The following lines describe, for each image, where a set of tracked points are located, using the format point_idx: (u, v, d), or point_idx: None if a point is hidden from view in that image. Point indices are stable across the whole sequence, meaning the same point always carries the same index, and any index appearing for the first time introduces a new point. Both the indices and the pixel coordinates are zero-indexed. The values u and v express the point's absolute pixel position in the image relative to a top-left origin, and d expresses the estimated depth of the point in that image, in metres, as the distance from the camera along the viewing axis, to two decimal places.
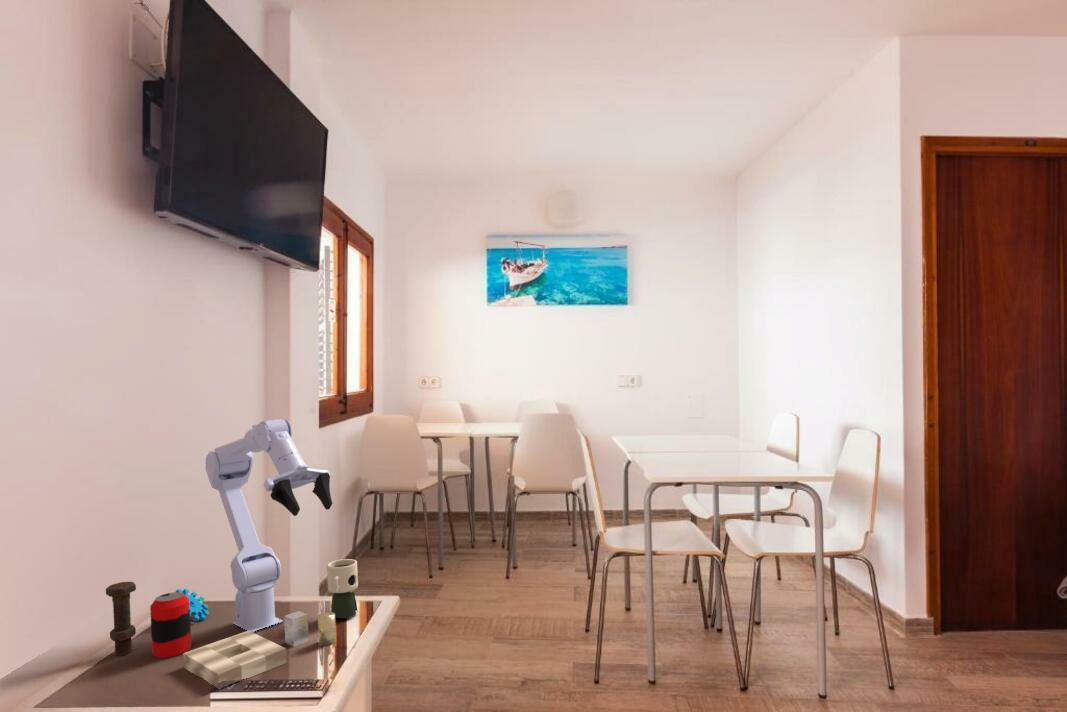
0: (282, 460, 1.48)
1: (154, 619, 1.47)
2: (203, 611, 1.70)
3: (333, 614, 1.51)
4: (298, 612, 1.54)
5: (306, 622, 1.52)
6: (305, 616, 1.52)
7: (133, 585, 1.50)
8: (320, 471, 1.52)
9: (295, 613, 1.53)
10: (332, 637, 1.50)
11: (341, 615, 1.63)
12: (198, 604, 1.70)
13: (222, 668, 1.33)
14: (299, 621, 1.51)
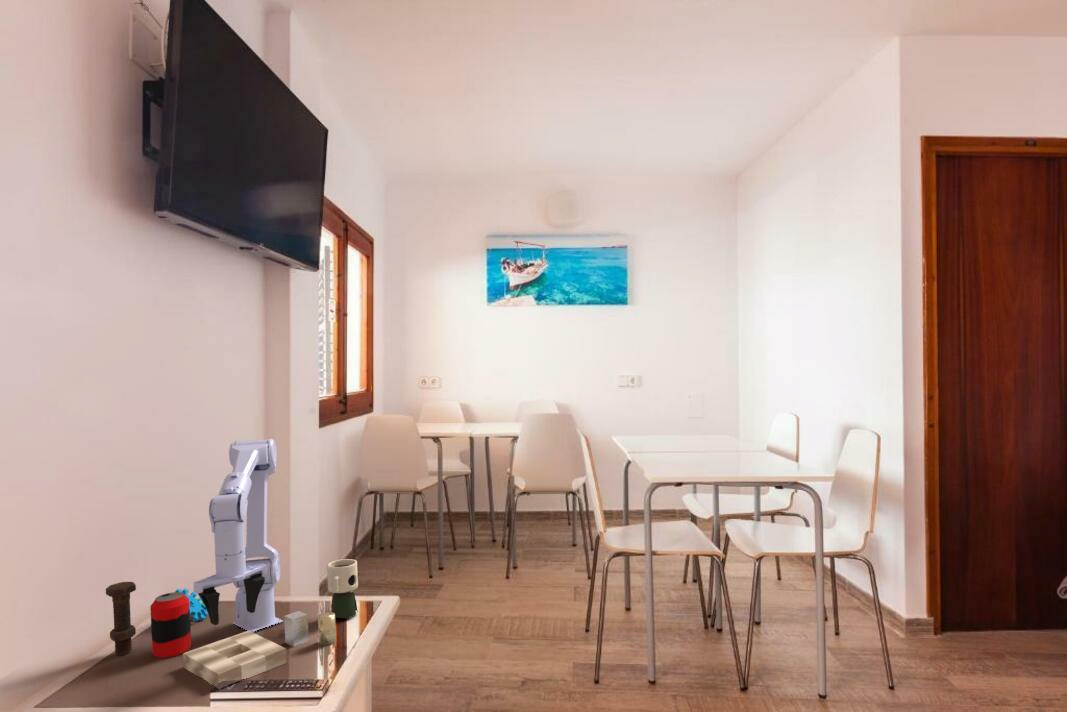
0: (222, 559, 1.39)
1: (154, 619, 1.47)
2: (203, 611, 1.70)
3: (333, 614, 1.51)
4: (298, 612, 1.54)
5: (306, 622, 1.52)
6: (305, 616, 1.52)
7: (133, 585, 1.50)
8: (258, 570, 1.44)
9: (295, 613, 1.53)
10: (332, 637, 1.50)
11: (341, 615, 1.63)
12: (198, 604, 1.70)
13: (222, 668, 1.33)
14: (299, 621, 1.51)
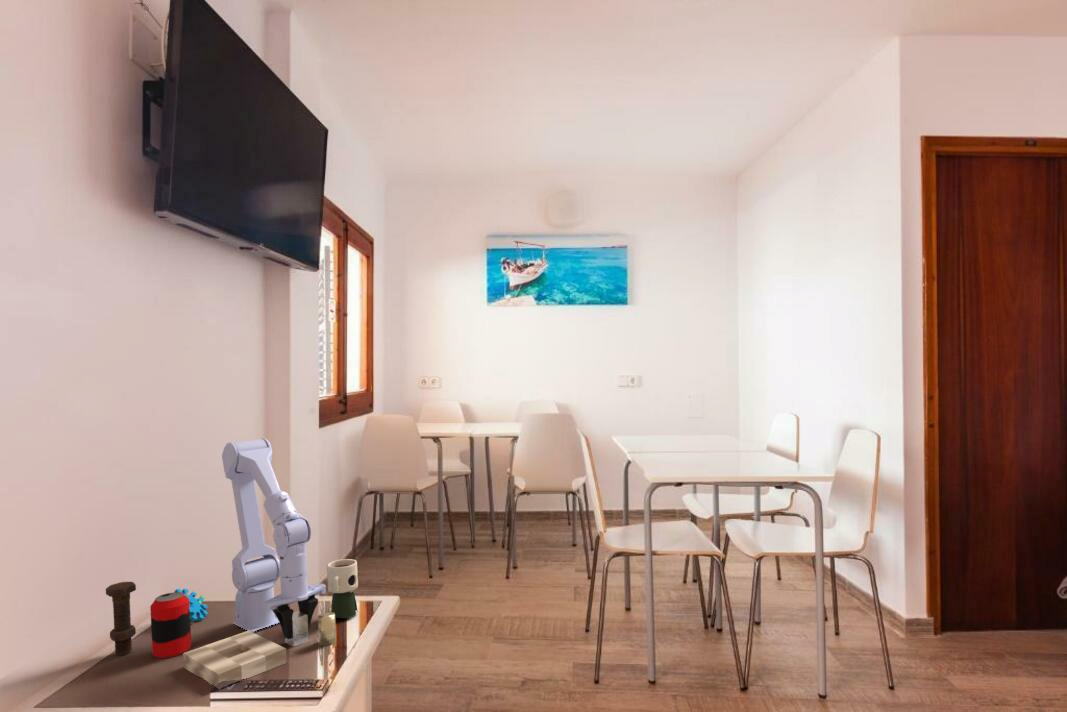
0: (288, 580, 1.49)
1: (154, 619, 1.47)
2: (202, 611, 1.70)
3: (333, 614, 1.51)
4: (298, 612, 1.54)
5: (306, 622, 1.52)
6: (305, 616, 1.52)
7: (133, 585, 1.50)
8: (318, 590, 1.55)
9: (294, 612, 1.53)
10: (332, 637, 1.50)
11: (341, 615, 1.63)
12: (197, 604, 1.70)
13: (222, 668, 1.33)
14: (299, 621, 1.51)
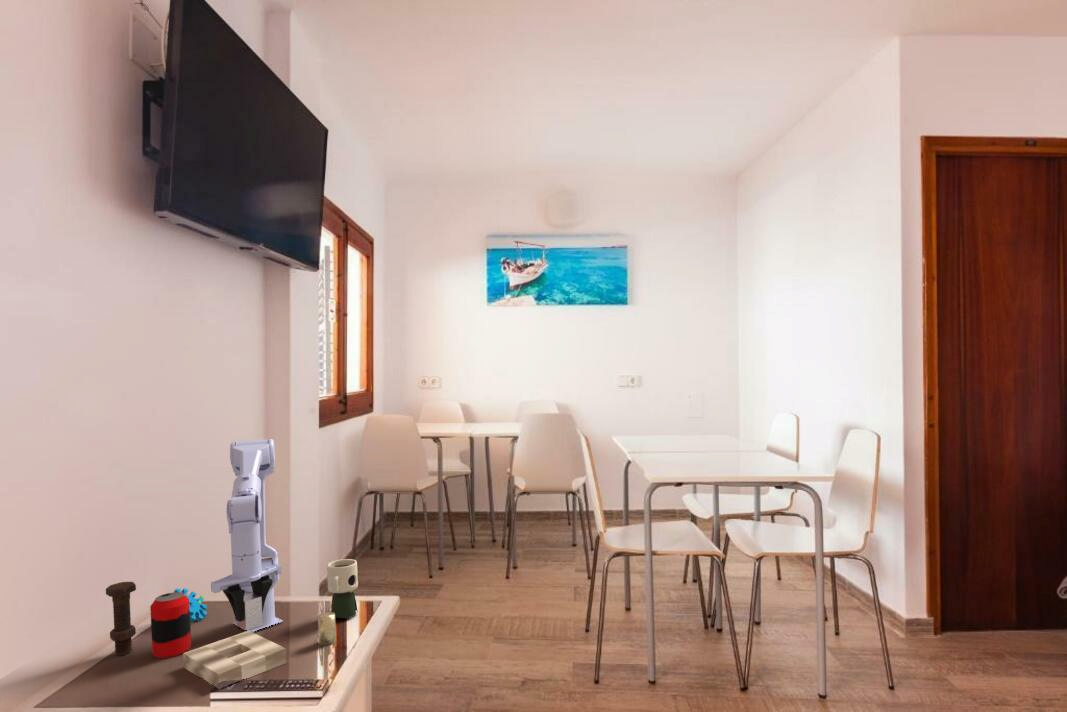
0: (239, 559, 1.41)
1: (154, 619, 1.47)
2: (201, 611, 1.70)
3: (333, 614, 1.51)
4: (252, 594, 1.45)
5: (260, 605, 1.44)
6: (259, 598, 1.44)
7: (133, 585, 1.50)
8: (273, 570, 1.47)
9: (248, 595, 1.45)
10: (332, 637, 1.50)
11: (341, 615, 1.63)
12: (196, 604, 1.70)
13: (222, 668, 1.33)
14: (252, 603, 1.42)
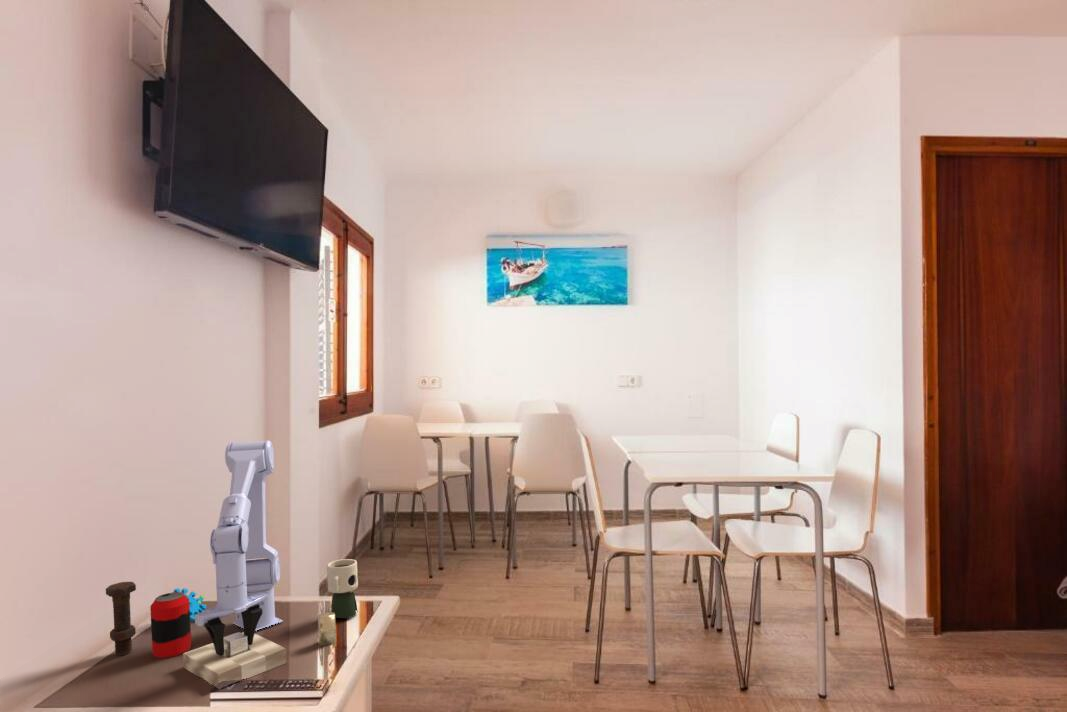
0: (224, 591, 1.39)
1: (154, 620, 1.47)
2: (200, 611, 1.70)
3: (333, 614, 1.51)
4: (238, 633, 1.43)
5: (246, 644, 1.41)
6: (245, 638, 1.41)
7: (133, 585, 1.50)
8: (259, 600, 1.44)
9: (234, 634, 1.43)
10: (332, 637, 1.50)
11: (341, 615, 1.63)
12: (196, 604, 1.70)
13: (222, 668, 1.33)
14: (237, 643, 1.40)
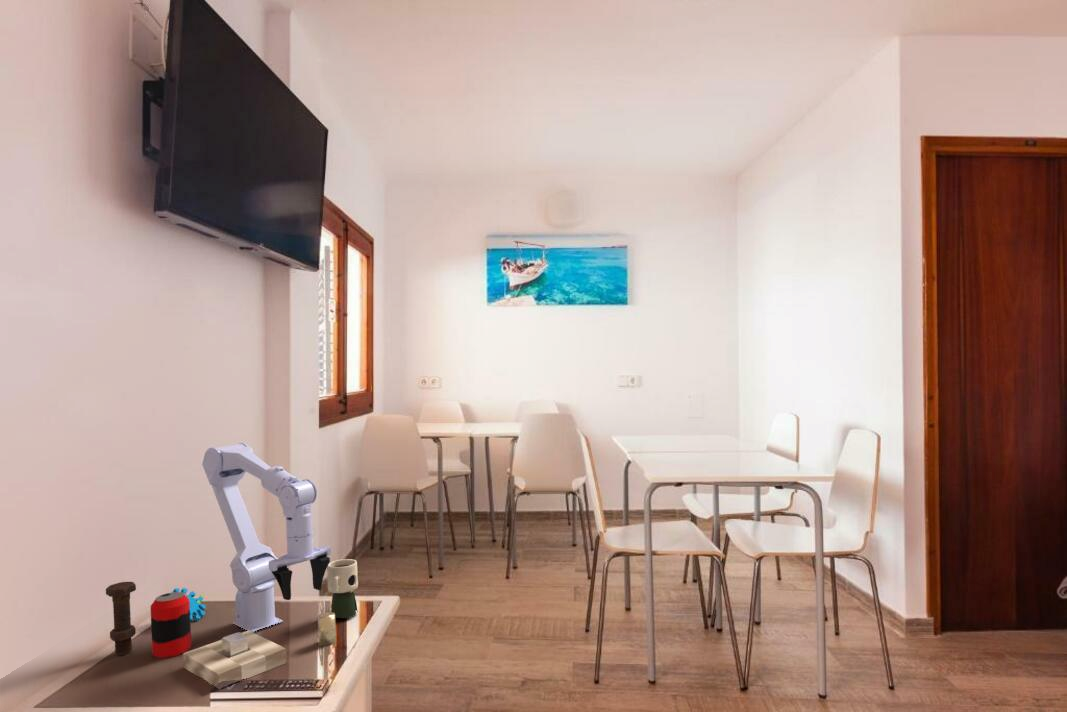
0: (294, 540, 1.53)
1: (154, 619, 1.47)
2: (199, 611, 1.70)
3: (333, 614, 1.51)
4: (238, 633, 1.43)
5: (246, 644, 1.41)
6: (244, 638, 1.41)
7: (133, 585, 1.50)
8: (323, 551, 1.59)
9: (234, 634, 1.43)
10: (332, 637, 1.50)
11: (341, 615, 1.63)
12: (195, 604, 1.70)
13: (222, 668, 1.33)
14: (237, 643, 1.40)
